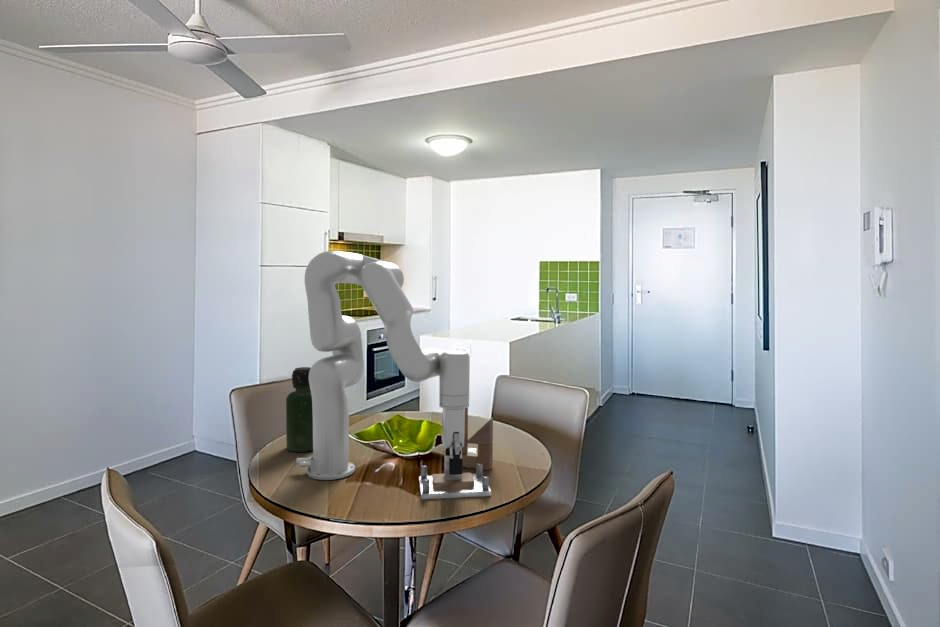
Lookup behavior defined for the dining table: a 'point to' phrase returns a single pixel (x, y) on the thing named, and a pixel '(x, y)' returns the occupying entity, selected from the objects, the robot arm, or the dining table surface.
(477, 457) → the wooden block
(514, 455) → the dining table surface
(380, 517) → the dining table surface
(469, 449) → the butcher knife
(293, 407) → the green bottle
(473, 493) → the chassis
